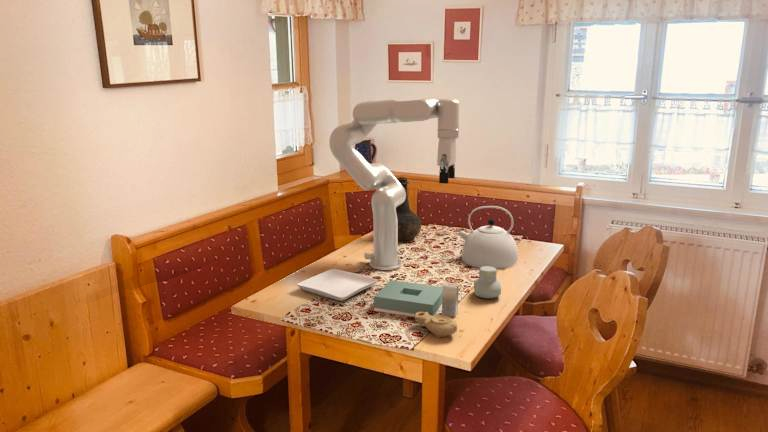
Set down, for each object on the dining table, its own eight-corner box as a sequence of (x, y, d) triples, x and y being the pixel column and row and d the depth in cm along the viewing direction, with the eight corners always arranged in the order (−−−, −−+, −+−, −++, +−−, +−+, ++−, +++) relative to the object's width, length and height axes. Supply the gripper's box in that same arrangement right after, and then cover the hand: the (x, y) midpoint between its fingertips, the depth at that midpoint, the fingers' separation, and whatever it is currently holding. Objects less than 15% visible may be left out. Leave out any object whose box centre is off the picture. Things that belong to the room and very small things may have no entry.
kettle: (454, 266, 248) (455, 211, 242) (457, 249, 269) (459, 198, 263) (518, 270, 243) (522, 214, 237) (517, 252, 265) (520, 200, 259)
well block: (374, 310, 205) (374, 296, 204) (390, 293, 220) (390, 280, 219) (432, 319, 199) (433, 304, 197) (445, 301, 213) (446, 287, 212)
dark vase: (403, 230, 296) (403, 172, 289) (429, 239, 283) (430, 178, 276) (373, 237, 285) (373, 177, 278) (399, 246, 272) (400, 183, 265)
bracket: (441, 315, 202) (442, 286, 200) (444, 311, 205) (445, 282, 202) (455, 317, 201) (456, 287, 198) (457, 313, 203) (458, 284, 201)
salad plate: (379, 287, 226) (379, 278, 226) (342, 306, 209) (342, 297, 209) (333, 275, 238) (333, 267, 237) (295, 293, 221) (295, 283, 220)
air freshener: (472, 289, 223) (473, 263, 221) (496, 289, 223) (497, 263, 221) (477, 301, 213) (478, 274, 210) (501, 301, 213) (502, 274, 210)
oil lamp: (416, 321, 197) (416, 306, 196) (461, 327, 193) (462, 312, 192) (407, 335, 188) (407, 320, 186) (454, 342, 183) (454, 326, 182)
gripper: (443, 130, 234) (442, 175, 239) (431, 136, 219) (430, 184, 223) (463, 131, 232) (462, 176, 236) (452, 137, 216) (451, 186, 221)
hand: (447, 180), depth 230 cm, fingers open, 9 cm apart
